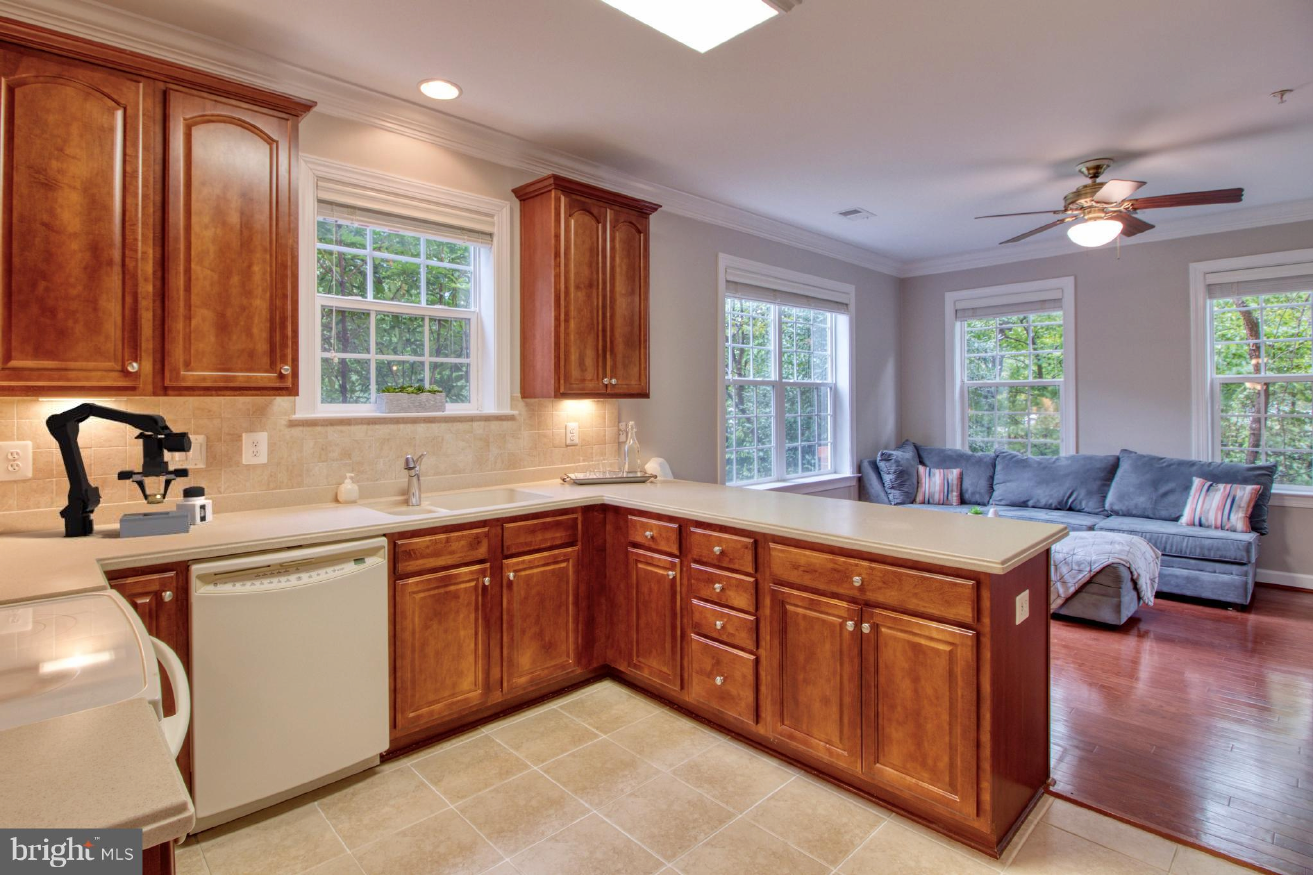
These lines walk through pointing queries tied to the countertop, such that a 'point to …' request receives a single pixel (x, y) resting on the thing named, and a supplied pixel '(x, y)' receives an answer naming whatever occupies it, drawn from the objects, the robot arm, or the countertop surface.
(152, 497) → the gold short cylinder
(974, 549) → the countertop surface
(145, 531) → the box
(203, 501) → the container
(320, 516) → the countertop surface
